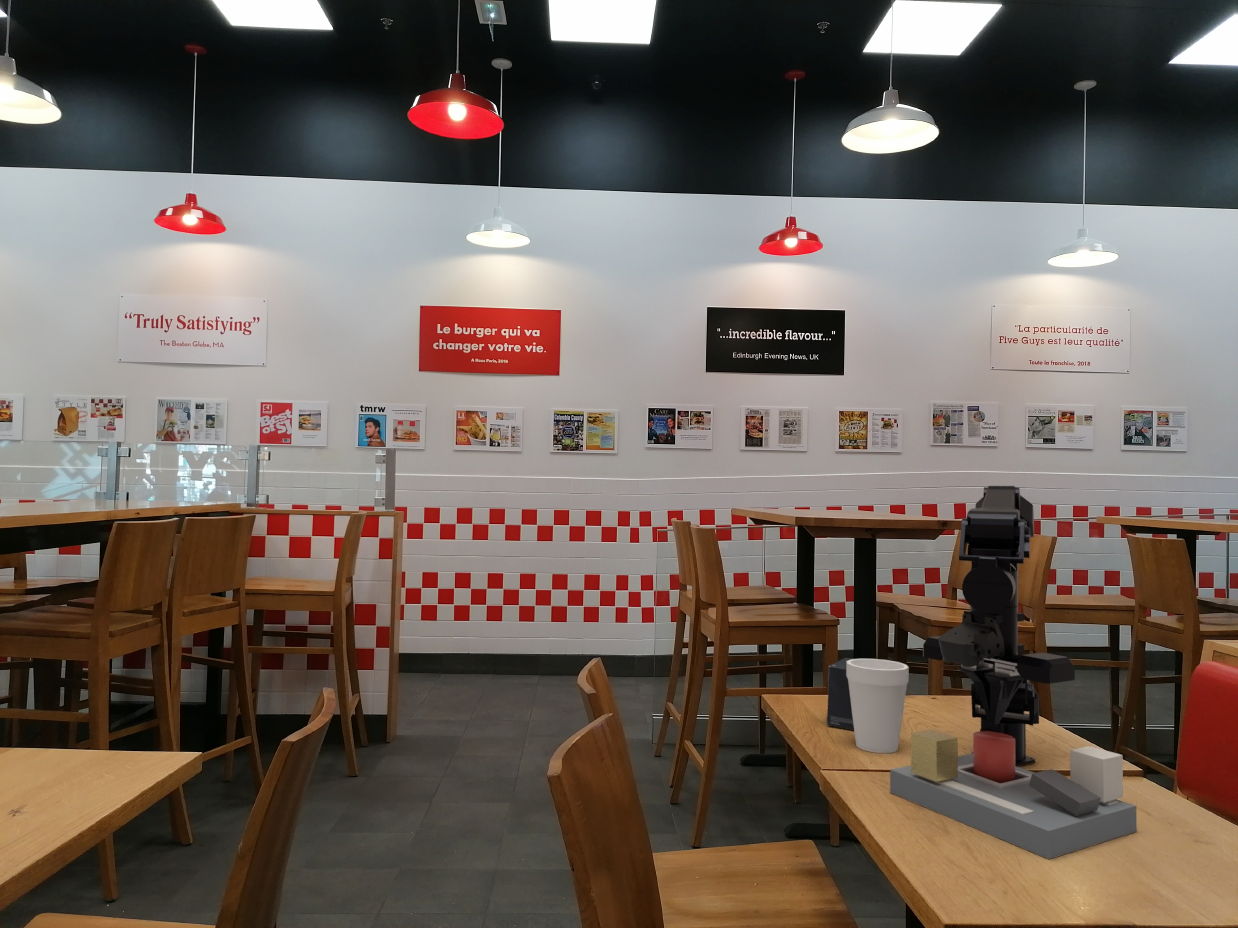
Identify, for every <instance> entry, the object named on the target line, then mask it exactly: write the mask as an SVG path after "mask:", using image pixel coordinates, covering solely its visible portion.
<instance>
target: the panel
mask: <svg viewBox="0 0 1238 928" xmlns="http://www.w3.org/2000/svg"><path fill="white" fill-rule="evenodd" d="M1033 773H1035V772H1034V771H1032V770H1031V771H1030V770H1028V769H1024V768H1021V767H1019V766H1015V780H1013V781H1009V782H1005V783H997V782H994V781H992V780H989V779H986V778H983V777H980V776H977V775H975V774H973V753H968V754H967V753H966V754H963V755H958V777H957V778H952V779H948V780H943V781H938V782H936V781H933V780H930V779H928V778H925V777H923V776H920V775H917V774H915V773H912V772H911V765H908V766H902V767H896V768H891V769H890V771H889V776H890V777H889V784H890V785H889V790H890V791H889V792H890V794H893V795H895V796H898V797H900V798H902V799H905V800H907V801H909V802H912V803H914V804H917V805H919V806H921V807H924V808H927V809H929V810H930V811H934V812H936V813H938V814H940V815H943V816H945V817H948V818H950V819H952V820H955V821H956V822H960V823H961V824H964V825H967V826H969V827H971V828H973V829H976V830H979V831H981V832H983V833H986V834H988V835H990V836H992V837H995V838H998V839H1000V840H1002V841H1005V842H1007V843H1009V844H1012V845H1014V846H1016V847H1018V848H1021V849H1023V850H1025V851H1028V852H1030V853H1033V854H1036V855H1037V856H1039V857H1042V858H1045V859H1047V860H1051V859H1054V858H1057V857H1060V856H1064V855H1066V854H1070V853H1073V852H1077V851H1079V850H1083V849H1086V848H1089V847H1092V846H1095V845H1098V844H1102V843H1104V842H1108V841H1111V840H1114V839H1117V838H1121V837H1124V836H1127V835H1130V834H1134V833H1136V832H1137V831H1138V830H1137V826H1138V825H1137V805H1134V804H1132V803H1129V802H1126V801H1124V800H1120V799H1115V800H1111V801H1108V802H1101V801H1100V803H1099V806H1098V810H1096V811H1093V812H1089V813H1086V814H1082V815H1079V816H1076V815H1074V814H1073V813H1071V812H1070V811H1068V810H1067V809H1065V808H1063V807H1062V806H1060V805H1059V804H1057V803H1056V802H1054V801H1052V800H1051V799H1049V798H1048V797H1046V796H1044V795H1043V794H1041V793H1040V792H1038V791H1037V790H1035V789H1033V788H1032V787H1030V786H1029V783H1030V780H1031V776H1032V774H1033ZM1133 832H1134V833H1133Z"/></svg>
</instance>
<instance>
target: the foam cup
mask: <svg viewBox="0 0 1238 928" xmlns="http://www.w3.org/2000/svg"><path fill="white" fill-rule="evenodd" d="M909 668H910V667H909V666H908V665H907V664H905V663H902V662H900V661H893V660H888V659H877V658H851V660H848V661H847V666H846V676H847V678H848V683H849V691H850V699H851V708H852V716H853V724H854V731H853V732H854V739H855V740H854V741H855V745H856V748H858V749H860V750H863V751H866V752H869V753H870V752H871V753H877V754H891V753H895V752H897V751H898V749H899V746H900V745H899V743H900V737H901V736H900V735H901V730H902V724H903V723H902V721H903V715H904V707H905V701H906V696H907V695H906V694H907V685H908V683H909V682H910V681H909V680H910V679H909V676H910V675H909V670H910V669H909Z"/></svg>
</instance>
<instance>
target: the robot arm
mask: <svg viewBox="0 0 1238 928" xmlns="http://www.w3.org/2000/svg"><path fill="white" fill-rule="evenodd" d="M982 496H983V497H980V499H979V500H978V501H977V502H975V505H974V506H975V507H974V508H970V509H969V510H968V512H967V514H966V517H963V518H962V519H961V525H960V539H959V550H958V561H959V562H971V568H969V571H968V572H967V573H966V575H965V576H964V578H963V581H962V584H961V591H962V595H963V598H964V600H965V601H966V603H967V604H968V605H969V610H964V611H963V613H962V616H961V617H962V618H961V620H962V621H961V624H960V625H957V626H954V627H953V628H950V629H949V630H948V631H946V632H944V633H943V634H942V635H935V636H928V637H927V638H926V639H925V641H924V642H923V644H922V656H923V658H926V659H931V660H936V661H942V660H943V662H945V663H948V664H950V663H954V664H958V665H960V666H957V670H958V671H959V672H962V673H964V674H965V675H966V676H967V677H968V678H969V679H970V680H971V683H970V687H971V688H970V693H971V694H970V698H971V717H972V718H973V719H974V718H975V719H976V718H978V719H979V718H980V729H979V731H990V732H998V733H1003V734H1007V735H1010V736H1012V737H1014V738H1015V766H1016V767H1019V766H1024V765H1029V764H1034V763H1036V758H1034V757H1032V756H1031V757H1030V756H1028V755H1027V751H1026V750H1027V748H1026V747H1027V744H1026V740H1027V738H1026V737H1027V736H1026V734H1027V733H1026V731H1027V730H1026V729H1027V726H1026V725H1029V726H1032V727H1033V726H1034V725H1038V724H1040V705H1039V704H1040V703H1039V702H1040V701H1039V700H1040V699H1039V693H1037V691H1036V689H1035V688H1034V684H1033V683H1029V681H1031V682H1035V683H1040V684H1047V685H1050V684H1059V683H1062V682H1064V683H1065V682H1070V681H1075V680H1076V679H1075V675H1076V673H1075V671H1076V670H1075V665H1074V664H1073V662H1072V660H1071V659H1070V658H1069V656H1064V655H1059V654H1054V653H1047V652H1036V653H1035V652H1034V653H1027V654H1023V653H1024V652H1025V645H1024V644H1022V643H1019V642H1018V641H1019V640H1018V639H1019V638H1018V635H1019V634H1018V633H1019V632H1018V631H1019V630H1018V629H1019V628H1018V627H1019V622H1024V621H1025V613H1023V612H1018V611H1019V564H1020V565H1021V564H1022V565H1023V564H1025V559H1030V553H1031V538H1034V537H1035V514H1034V505H1033V503H1032V502H1030V501H1029V500H1028V499H1026V498H1025V497H1023V496H1022V495H1021V491H1020V487H1016V486H1015V485H989V486H986V487H985V486H983V495H982ZM1021 653H1022V654H1021ZM1020 654H1021V655H1020ZM1025 712H1028V713H1025ZM971 752H972V753H973V751H971ZM972 753H971V754H972Z"/></svg>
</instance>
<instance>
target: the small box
mask: <svg viewBox="0 0 1238 928" xmlns="http://www.w3.org/2000/svg"><path fill="white" fill-rule="evenodd" d="M851 659H852V658H851V657H850V658H849V657H844V658H842V659H840V660H837V661H836V662H834V663H832V664H829V665H828V669H827V670H828V671H827V672H828V673H827V677H828V678H827V714H826V726H827V725H829V726H828V727H832V726H835V727H834V728H837V727H839V729H843V728H845V729H844V730H848V729H850V730H849V731H853V730H854V724H853V716H852V708H851V699H850V691H849V683H848V678H847V676H846V666H847V661H848V660H851Z"/></svg>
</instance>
